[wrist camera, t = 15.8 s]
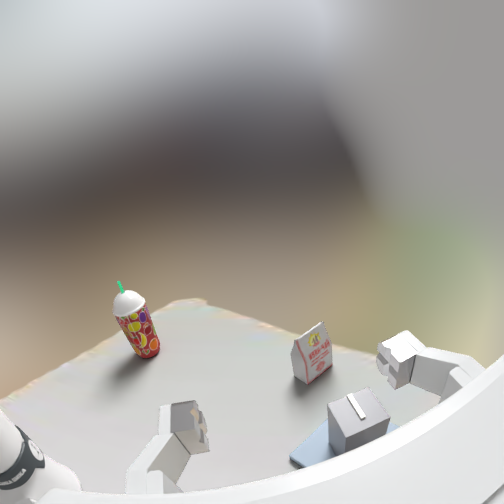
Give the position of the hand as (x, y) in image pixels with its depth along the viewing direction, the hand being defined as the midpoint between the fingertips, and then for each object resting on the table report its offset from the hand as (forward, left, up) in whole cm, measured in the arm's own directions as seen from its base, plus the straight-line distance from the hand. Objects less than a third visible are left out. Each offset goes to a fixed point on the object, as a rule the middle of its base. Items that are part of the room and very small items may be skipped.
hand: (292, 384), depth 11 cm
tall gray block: (+13, +4, -30) cm, 33 cm away
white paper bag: (+23, +21, -32) cm, 45 cm away
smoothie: (+4, +56, -32) cm, 65 cm away
